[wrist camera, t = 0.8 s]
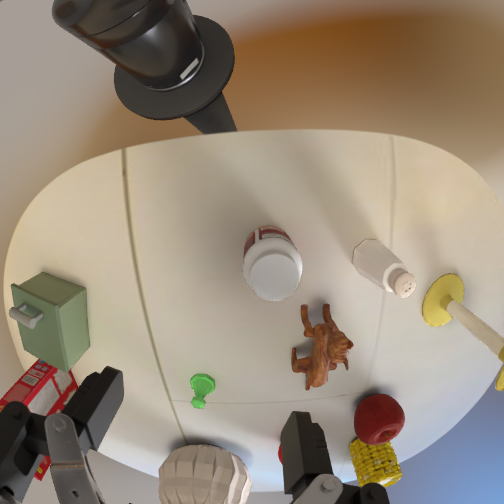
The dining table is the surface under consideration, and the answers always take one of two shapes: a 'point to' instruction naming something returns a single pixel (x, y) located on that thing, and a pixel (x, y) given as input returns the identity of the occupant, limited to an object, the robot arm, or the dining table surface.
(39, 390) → the food packaging
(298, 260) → the pill bottle
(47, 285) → the bin
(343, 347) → the cat figurine
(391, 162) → the dining table surface
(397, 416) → the apple
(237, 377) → the dining table surface
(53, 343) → the bread bin lid
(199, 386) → the game piece
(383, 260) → the pepper shaker
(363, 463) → the food
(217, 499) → the vase
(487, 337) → the candle
